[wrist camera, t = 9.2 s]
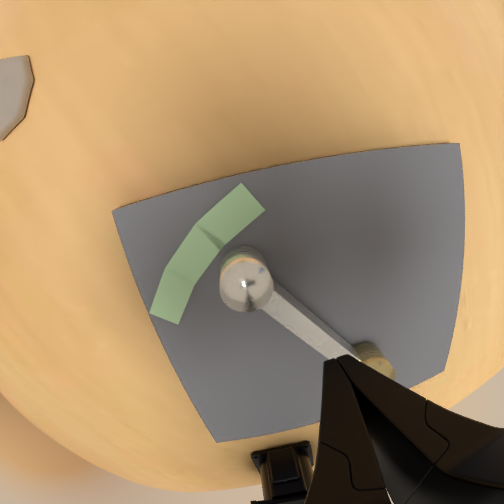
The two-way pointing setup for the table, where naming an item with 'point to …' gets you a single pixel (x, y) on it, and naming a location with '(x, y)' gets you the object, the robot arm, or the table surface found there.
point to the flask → (14, 91)
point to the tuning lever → (286, 308)
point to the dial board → (303, 276)
